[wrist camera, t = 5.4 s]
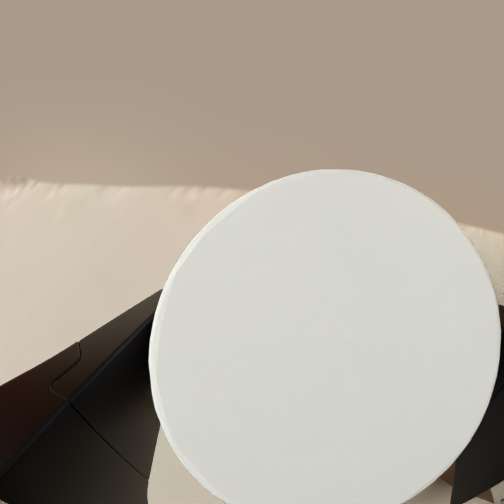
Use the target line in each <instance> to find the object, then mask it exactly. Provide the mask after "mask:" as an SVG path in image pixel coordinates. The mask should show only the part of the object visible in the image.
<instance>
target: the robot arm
mask: <svg viewBox="0 0 504 504" xmlns="http://www.w3.org/2000/svg"><path fill="white" fill-rule="evenodd" d="M162 291H163V289H161V290H159V291H158V292H156V293H154V294H153V295H151V296H150V297H148V298H146V299H145V300H143V301H142V302H140V303H138V304H137V305H135V306H134V307H132V308H130V309H129V310H127V311H126V312H124V313H122V314H121V315H119V316H118V317H116V318H115V319H113V320H111V321H110V322H108V323H107V324H105V325H103V326H102V327H100V328H99V329H97V330H96V331H94V332H92V333H91V334H89V335H88V336H86V337H85V338H83V339H81V340H80V341H79V342H76V343H74V344H73V345H71V346H70V347H68V348H66V349H65V350H63V351H62V352H60V353H58V354H57V355H55V356H53V357H52V358H50V359H48V360H46V361H45V362H43V363H41V364H39V365H38V366H36V367H34V368H32V369H30V370H28V371H27V372H25V373H23V374H21V375H19V376H17V377H16V378H14V379H12V380H10V381H8V382H6V383H5V384H3V385H1V386H0V504H148V500H147V489H148V482H149V481H148V480H149V477H150V471H151V466H152V461H153V456H154V452H155V447H156V442H157V437H158V433H159V428H160V424H161V423H160V420H159V418H158V415H157V413H156V410H155V406H154V401H153V396H152V390H151V380H150V370H149V346H150V337H151V331H152V326H153V321H154V316H155V312H156V309H157V306H158V302H159V299H160V296H161V294H162ZM498 309H499V317H500V326H501V343H500V359H499V366H498V372H497V377H496V381H495V385H494V389H493V392H492V395H491V398H490V401H489V404H488V407H487V409H486V412H485V414H484V416H483V418H482V420H481V422H480V424H479V426H478V428H477V430H476V432H475V433H474V435H473V437H472V438H471V440H470V442H469V443H468V444H467V446H466V447H465V449H464V450H463V451H462V453H461V454H460V455H459V456H458V458H457V459H456V460H455V468H454V478H453V487H452V495H451V502H450V504H463V503H465V502H467V501H469V500H471V499H473V498H474V497H476V496H478V495H480V494H482V493H484V492H485V491H487V490H489V489H491V492H492V496H493V499H494V502H495V504H504V306H503V305H498Z"/></svg>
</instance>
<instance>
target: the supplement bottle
mask: <svg viewBox="0 0 504 504" xmlns="http://www.w3.org/2000/svg"><path fill="white" fill-rule="evenodd" d="M500 343H501V326H500V317H499V309H498V304H497V299H496V295H495V290H494V287H493V284H492V281H491V278H490V275H489V273H488V270H487V268H486V266H485V264H484V262H483V260H482V258H481V256H480V255H479V253H478V251H477V249H476V248H475V246H474V244H473V243H472V241H471V240H470V238H469V237H468V236H467V234H466V233H465V232H464V231H463V229H462V228H461V227H460V226H459V225H458V223H457V222H456V221H455V220H454V219H453V218H452V217H451V216H450V215H449V213H447V212H446V211H445V210H444V209H443V208H442V207H440V206H439V205H438V204H437V203H436V202H435V201H433V200H432V199H430V198H429V197H427V196H425V195H424V194H422V193H420V192H419V191H417V190H415V189H413V188H411V187H409V186H407V185H405V184H403V183H401V182H398V181H396V180H394V179H390V178H388V177H385V176H381V175H378V174H374V173H369V172H363V171H357V170H340V169H339V170H338V169H328V170H313V171H307V172H302V173H298V174H294V175H290V176H287V177H284V178H281V179H278V180H275V181H272V182H270V183H267V184H265V185H263V186H261V187H259V188H256V189H254V190H252V191H250V192H249V193H247V194H245V195H244V196H242V197H240V198H239V199H237V200H235V201H234V202H232V203H231V204H230V205H228V206H227V207H226V208H224V209H223V210H222V211H221V212H220V213H218V214H217V215H216V216H215V217H214V218H213V219H212V220H211V221H210V222H209V223H208V224H206V225H205V226H204V227H203V228H202V230H201V231H200V232H199V233H198V234H197V235H196V236H195V237H194V239H193V240H192V241H191V242H190V244H189V245H188V247H187V248H186V250H185V251H184V252H183V254H182V255H181V257H180V258H179V260H178V261H177V263H176V265H175V266H174V268H173V270H172V272H171V274H170V276H169V278H168V280H167V282H166V284H165V286H164V288H163V291H162V294H161V296H160V299H159V302H158V306H157V309H156V312H155V316H154V321H153V326H152V331H151V337H150V346H149V370H150V380H151V390H152V396H153V401H154V406H155V410H156V413H157V415H158V418H159V420H160V423H161V425H162V428H163V430H164V432H165V435H166V437H167V439H168V441H169V443H170V445H171V446H172V448H173V450H174V452H175V453H176V455H177V456H178V457H179V459H180V460H181V462H182V463H183V464H184V466H185V467H186V468H187V470H188V471H189V472H190V473H191V474H192V475H193V476H194V477H195V478H196V479H197V480H198V481H199V482H200V483H201V484H202V485H203V486H204V487H205V488H206V489H208V490H209V491H210V492H211V493H212V494H214V495H215V496H217V497H218V498H220V499H221V500H223V501H224V502H226V503H227V504H403V503H405V502H406V501H408V500H410V499H411V498H413V497H414V496H416V495H417V494H418V493H420V492H421V491H422V490H424V489H425V488H426V487H428V486H429V485H430V484H432V483H433V482H434V481H435V480H436V479H437V478H438V477H439V476H441V475H442V474H443V473H444V472H445V471H446V470H447V469H448V468H449V467H450V466H451V465H452V464H453V462H454V461H455V460H456V459H457V458H458V456H459V455H460V454H461V453H462V451H463V450H464V449H465V447H466V446H467V444H468V443H469V442H470V440H471V438H472V437H473V435H474V433H475V432H476V430H477V428H478V426H479V424H480V422H481V420H482V418H483V416H484V414H485V412H486V409H487V407H488V404H489V401H490V398H491V395H492V392H493V389H494V385H495V381H496V377H497V372H498V366H499V359H500Z"/></svg>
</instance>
